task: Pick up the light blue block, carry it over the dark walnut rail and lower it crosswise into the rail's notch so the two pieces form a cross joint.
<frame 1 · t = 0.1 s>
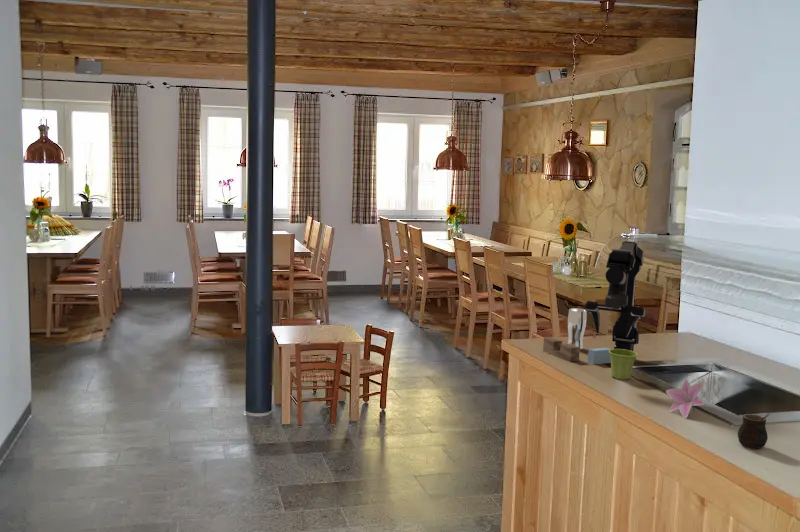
hand: (611, 335, 264), 15 cm above the table, tool pointing down, fingers open, 9 cm apart
light blue block: (599, 362, 290), on the table
mate gourd: (751, 447, 210), on the table
plant pot: (620, 378, 271), on the table
rail: (560, 355, 297), on the table
lily: (684, 414, 236), on the table
beer glass: (574, 348, 310), on the table
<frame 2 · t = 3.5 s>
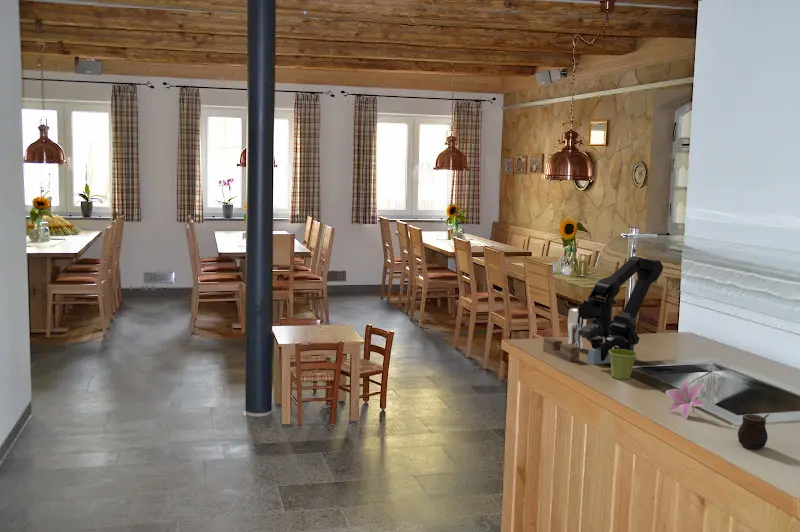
hand: (599, 359, 290), 1 cm above the table, tool pointing down, fingers closed on light blue block, 3 cm apart
light blue block: (599, 362, 290), on the table, touching gripper
everything else where it was.
when the fingers open (5 cm above the table, at t = 7.5 s): light blue block drops 2 cm, resting on rail.
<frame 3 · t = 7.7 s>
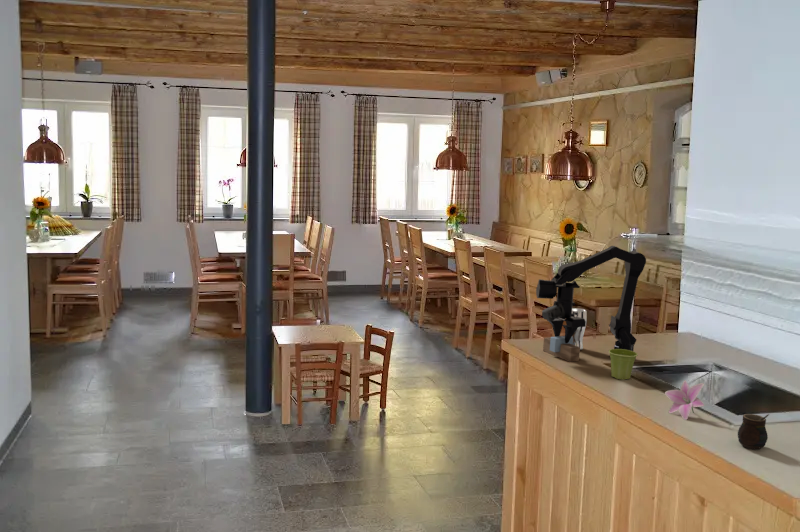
hand: (561, 341, 296), 5 cm above the table, tool pointing down, fingers open, 5 cm apart
light blue block: (560, 350, 296), point 2 cm above the table, touching rail
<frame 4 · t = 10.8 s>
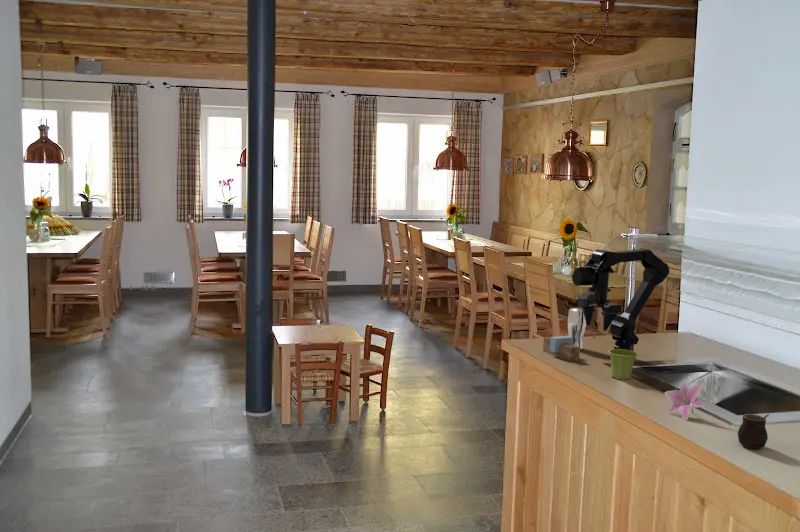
hand: (596, 327, 291), 12 cm above the table, tool pointing down, fingers open, 9 cm apart
at the end: light blue block 0.0 cm off-centre on the rail, point 2.0 cm above the rail's base; light blue block tilted 0°; the gripper is holding nothing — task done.
